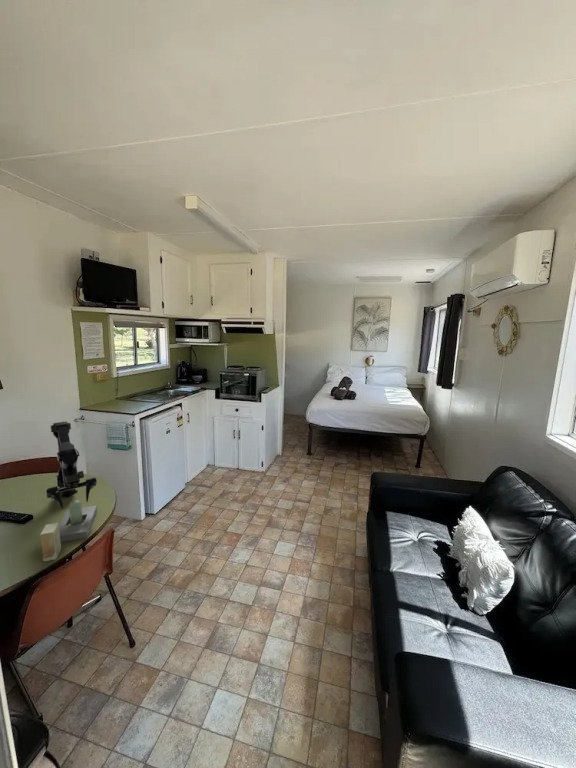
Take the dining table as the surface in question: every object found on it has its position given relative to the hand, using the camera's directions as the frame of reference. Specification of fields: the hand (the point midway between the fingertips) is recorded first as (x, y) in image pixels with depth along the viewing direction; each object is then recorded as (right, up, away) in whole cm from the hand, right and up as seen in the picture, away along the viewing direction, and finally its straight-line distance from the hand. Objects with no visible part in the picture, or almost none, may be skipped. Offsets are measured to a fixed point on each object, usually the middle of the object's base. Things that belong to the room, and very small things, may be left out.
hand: (75, 505), depth 136 cm
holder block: (0, -10, +1) cm, 10 cm away
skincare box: (+2, -14, -16) cm, 21 cm away
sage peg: (0, -9, +1) cm, 10 cm away
